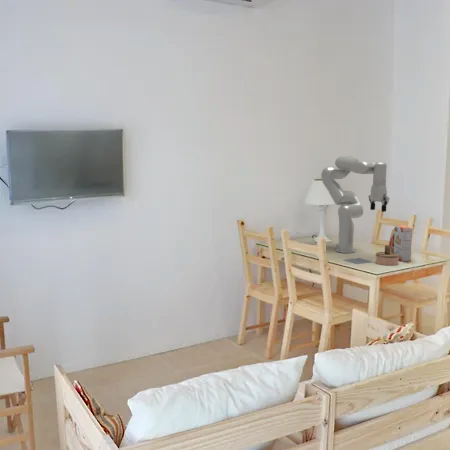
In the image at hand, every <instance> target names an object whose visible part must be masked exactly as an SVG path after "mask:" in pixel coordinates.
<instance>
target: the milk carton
mask: <svg viewBox="0 0 450 450" xmlns="http://www.w3.org/2000/svg"><path fill="white" fill-rule="evenodd" d="M394 236H395V227H394V228H393V229H391V232H390V237H389V244H388V245H389V246H391V247H390V252H392V253H394Z"/></svg>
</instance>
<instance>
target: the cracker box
mask: <svg viewBox="0 0 450 450" xmlns="http://www.w3.org/2000/svg"><path fill="white" fill-rule="evenodd" d="M394 228H395V236H394V253H397V254H399V262H405V263H407V262H411V257H412V254H411V253H412V234H413V232H412V231H413V228H412V227H410V226H407V225H405V224H395V225H394Z"/></svg>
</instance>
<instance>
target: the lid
mask: <svg viewBox="0 0 450 450" xmlns="http://www.w3.org/2000/svg"><path fill="white" fill-rule="evenodd" d="M390 247H391V246H389V244H387V245H384V251H379V252H376V253H375V256H378V257H384V258H397V257H399V254H397V253H392V252H390Z"/></svg>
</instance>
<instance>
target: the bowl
mask: <svg viewBox="0 0 450 450" xmlns="http://www.w3.org/2000/svg"><path fill="white" fill-rule="evenodd" d="M375 256H376V255H375ZM375 258H376V259H375V263H376V264H378V265H382V266H398V264H399V262H400V260H399V257H397V258H384V257H378V256H376V257H375Z"/></svg>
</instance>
